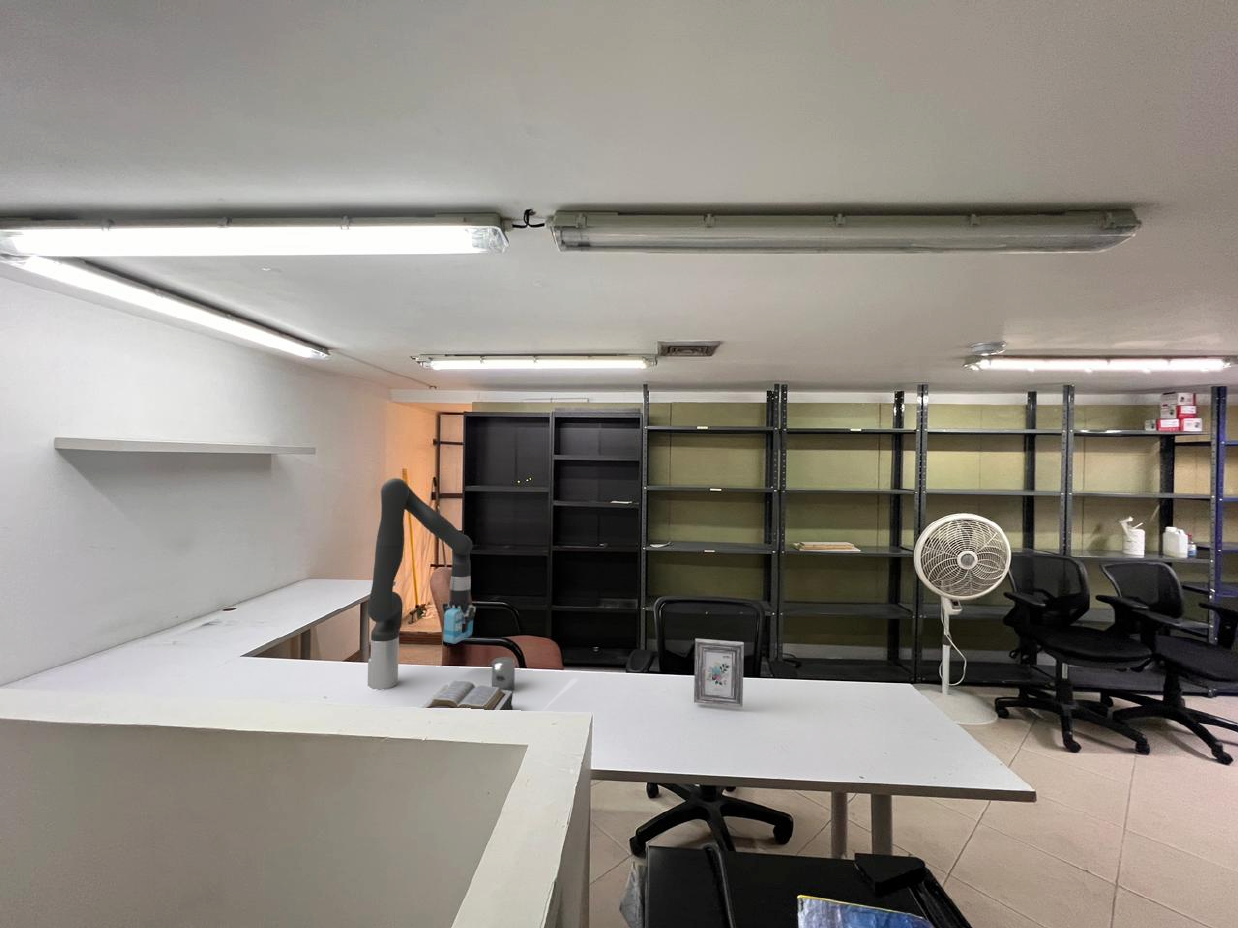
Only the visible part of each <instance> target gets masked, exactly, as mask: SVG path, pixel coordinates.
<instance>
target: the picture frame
mask: <svg viewBox="0 0 1238 928" xmlns="http://www.w3.org/2000/svg"><path fill="white" fill-rule="evenodd" d="M694 639H695V641H694V681H693V682H694V686H693V687H694V689H693V690H694V691H693V692H694V694H693V703H698V704H699V703H700V704H708V705H719V706H730V707H739V708H742V707H743V703H744V702H743V698H744V697H743V695H744V693H743V692H744V659H745V658H744V657H745V655H744V653H745V652H744V651H745V643H744V642H743V641H736V640H735V641H732V640H731V641H730V640H721V639H720V640H719V639H707V638H706V639H705V638H694Z"/></svg>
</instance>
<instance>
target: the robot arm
mask: <svg viewBox="0 0 1238 928" xmlns="http://www.w3.org/2000/svg"><path fill="white" fill-rule="evenodd" d="M380 499H381V500H380V501H381V511H380V513H381V514H380V516H381V517H380V523H379V527H378V531H377V537H376V542H375V543H376V544H375V554H374V564H373V574H372V575H373V578H372V584H371V590H370V595H369V598H368V603H367V613H368V616H369V618H370V619H371V621H372V622H375V625H374V627H373V628H372V630H371V632H370V633H371V634H370V658H369V659H368V660H367V687H369V688H370V689H371V688H372V689H371V690H374V689H377V690H376V691H382V690H381V689H384V690H388V689H391V688H394V687H396V685H398V682H399V681H398V680H399V654H400V653H399V652H400V651H399V649H400V631H401V627H402V623H403V622H402V621H403V599H402V597H401V595H400V594H399V593H397V592H395V591H393V589H394V583H395V579H396V577H397V575H398V572H399V569H400V567H401V564H402V562H403V557H404V549H405V548H404V547H405V528H404V527H405V525H404V516H405V511H407V512H408V513H409V514H411V515H412V516H413V517H414V518H415V519H416V520H417V521H418V522H419V523H420V524H421V525H422V526H423V527H424V528H425V529H427V530H428V531H429V532H430V533H432V535H433V536H436V538H438V539H440V540H441V541H442V542H444V544H446V545H447V546H448V547H449V548H450V549H451V557H452V558H451V559H452V562H451V563H452V564H451V572H450V581H449V582H450V583H449V602H448V601H447V602H444V603H442V608H443V614H444V615H445V612H446V611H447V610H449V609H451V608H452V609H455V608H458V609H459V610H462V609H463V610H462V615H461V618H462V622H463V624H462V633H465V632H467V630H468V623H469V622H471V621H473V622H474V617H475V615H476V612H477V606H475V605H474V606H473V605H472V604H471V602H470V600H471V587H472V586H471V582H472V580H471V571H472V570H471V569H472V568H471V565H472V564H471V560H470V559H471V558H470V556H471V551H472V549H473V541H472V540H471V538H470V537H469V536H468V535H466V534H464V533H462V532H461V531H460V530H458V529H457V528H456V527H455V526H454V524H452V523H451V522H450V521H449V520H448V519H446V518H445V517H444V516H443V515H441V514H440V513H439V512H437V511H436V510H435V509H433V508H432V507H431V506H430V505H428V504H427V503H425V502H424V501H423V500H422V499H421V498H420V497H419V496H418V495H417V494H416V493H415V492H414V491H413V490H412V489H411V488H410V486H409V485H408V483H407V482H406V481H405V480H403V479H401V478H396V477H395V478H390V479H388V480H387V481H386V482H384V483H383V485H382V486H381V489H380ZM471 605H472V606H471ZM468 608H469V615H468ZM465 612H466V614H465V615H464V613H465ZM444 615H443V616H444Z"/></svg>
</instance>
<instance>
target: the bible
mask: <svg viewBox="0 0 1238 928" xmlns="http://www.w3.org/2000/svg"><path fill="white" fill-rule="evenodd" d="M513 693H514V690H513V691H508V690H501V689H500V688H498V687H492V686H490V685H489V686H488V685H480V684H479V685H477V686H475V684H474V683H473V682H470V681H468V680H467V681H466V680H453V681H451V682H450V683H449V685H448V684H447V685H446V684H444V686H443V687H442V688H441V689H439V690H438V691H437V692H436V694H435V695H433V696H432V698H430V699H429V700H428V701H427V702H426V703H425V704H424V705H423V706H422V707H421V708H471V709H484V710H513V705H512V702H513Z"/></svg>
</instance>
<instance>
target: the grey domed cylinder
mask: <svg viewBox="0 0 1238 928" xmlns="http://www.w3.org/2000/svg"><path fill="white" fill-rule="evenodd" d="M515 664H516V659H515V658H513V657H510V656H501V657H497V658H494V659H493V660H492V662H491V665H492V666H491V687H498V688H500V689H501V690H508V691H513V692H514V690H515V674H516V673H515V672H516V671H515V670H516V665H515Z"/></svg>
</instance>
